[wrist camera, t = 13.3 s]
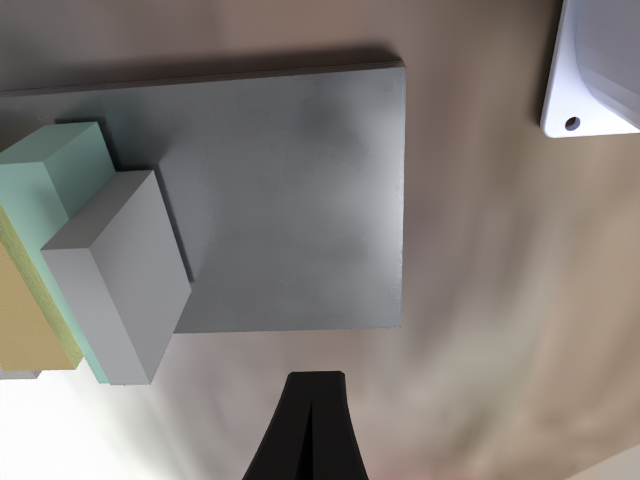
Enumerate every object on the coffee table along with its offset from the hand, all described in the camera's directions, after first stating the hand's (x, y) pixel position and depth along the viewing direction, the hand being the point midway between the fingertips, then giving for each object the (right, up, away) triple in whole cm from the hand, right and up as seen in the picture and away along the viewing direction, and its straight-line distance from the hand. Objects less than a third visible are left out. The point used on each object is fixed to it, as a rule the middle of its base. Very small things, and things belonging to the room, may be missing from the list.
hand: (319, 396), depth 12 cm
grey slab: (-6, +5, +8) cm, 12 cm away
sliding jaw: (-8, +4, +7) cm, 12 cm away
